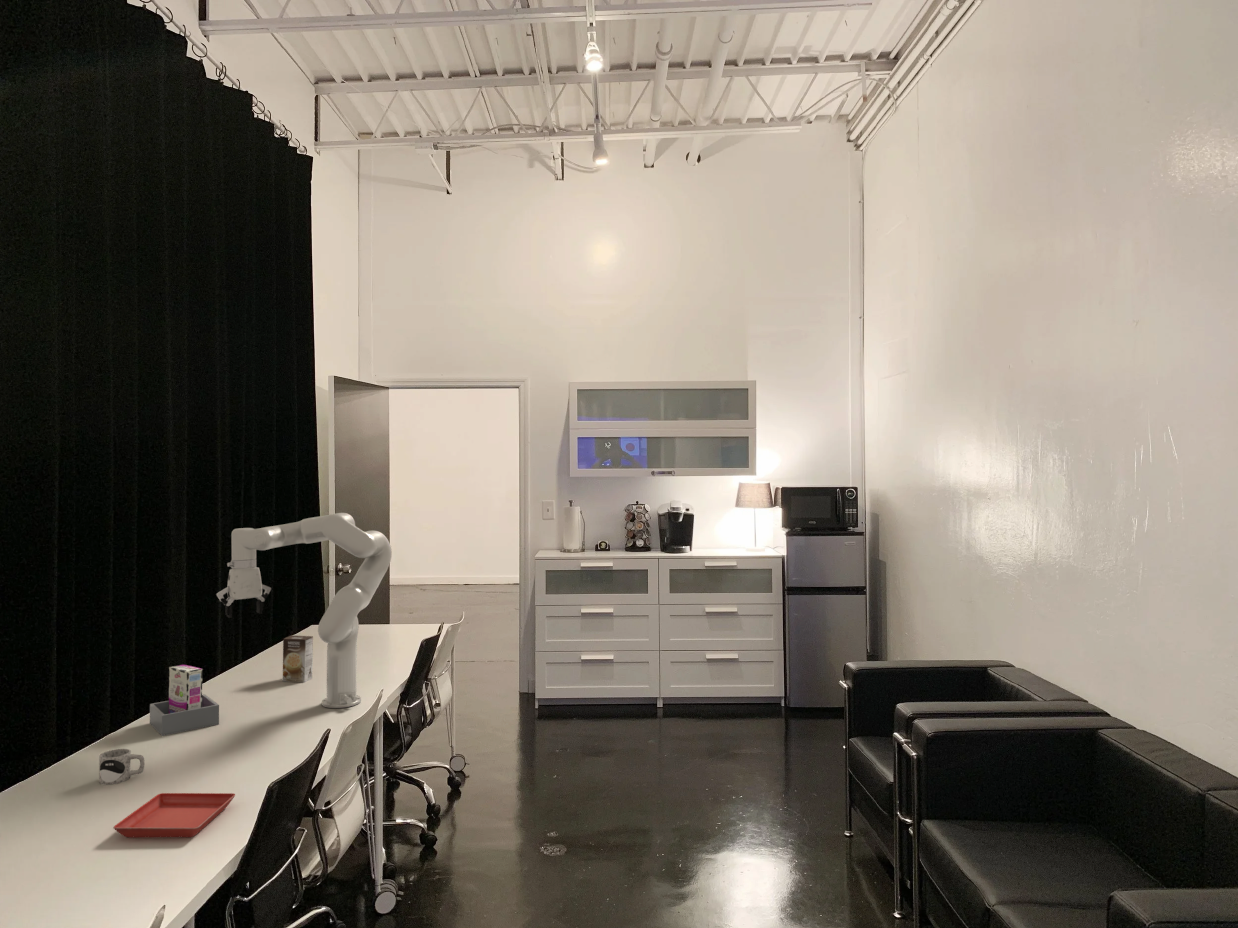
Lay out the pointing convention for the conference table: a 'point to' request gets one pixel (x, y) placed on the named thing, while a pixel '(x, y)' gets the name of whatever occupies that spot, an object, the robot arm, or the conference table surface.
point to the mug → (117, 766)
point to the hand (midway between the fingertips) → (244, 615)
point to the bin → (183, 717)
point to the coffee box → (297, 658)
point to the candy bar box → (185, 688)
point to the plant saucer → (174, 815)
